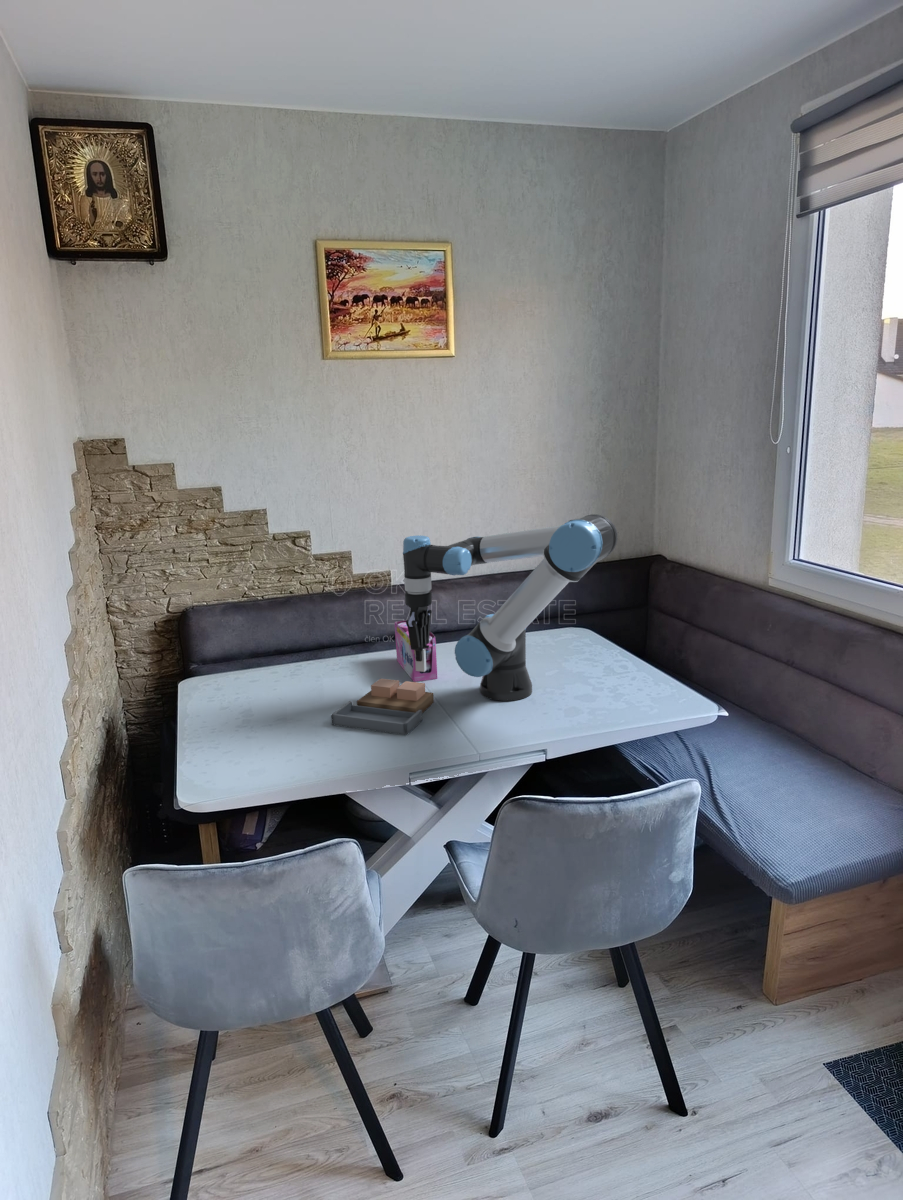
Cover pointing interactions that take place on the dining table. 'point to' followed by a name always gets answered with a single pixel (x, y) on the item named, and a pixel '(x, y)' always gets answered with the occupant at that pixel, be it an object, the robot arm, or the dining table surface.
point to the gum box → (408, 656)
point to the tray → (376, 719)
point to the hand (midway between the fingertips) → (421, 670)
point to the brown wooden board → (397, 702)
